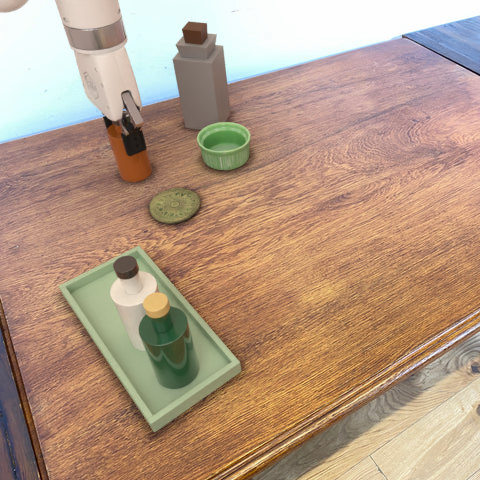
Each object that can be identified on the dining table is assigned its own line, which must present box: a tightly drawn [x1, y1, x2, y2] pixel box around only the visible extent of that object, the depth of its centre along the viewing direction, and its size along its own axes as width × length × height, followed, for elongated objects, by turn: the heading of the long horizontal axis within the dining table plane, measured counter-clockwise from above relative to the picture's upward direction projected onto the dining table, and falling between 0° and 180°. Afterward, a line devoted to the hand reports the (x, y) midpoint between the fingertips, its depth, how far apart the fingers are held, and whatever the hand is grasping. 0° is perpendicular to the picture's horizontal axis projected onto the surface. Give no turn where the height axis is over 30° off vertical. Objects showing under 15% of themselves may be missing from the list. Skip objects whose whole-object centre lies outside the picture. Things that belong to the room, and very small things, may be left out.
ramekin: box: [196, 121, 252, 171], centre depth 88 cm, size 9×9×4 cm
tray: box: [58, 245, 242, 433], centre depth 63 cm, size 24×11×2 cm, turn 42°
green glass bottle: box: [139, 292, 199, 389], centre depth 55 cm, size 5×5×13 cm
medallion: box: [148, 187, 202, 225], centre depth 80 cm, size 8×8×1 cm
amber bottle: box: [106, 110, 153, 183], centre depth 82 cm, size 5×5×11 cm
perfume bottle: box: [172, 21, 232, 131], centre depth 91 cm, size 7×7×18 cm
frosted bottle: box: [110, 256, 160, 351], centre depth 58 cm, size 5×5×13 cm
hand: (127, 142), depth 82 cm, fingers closed on amber bottle, 5 cm apart
